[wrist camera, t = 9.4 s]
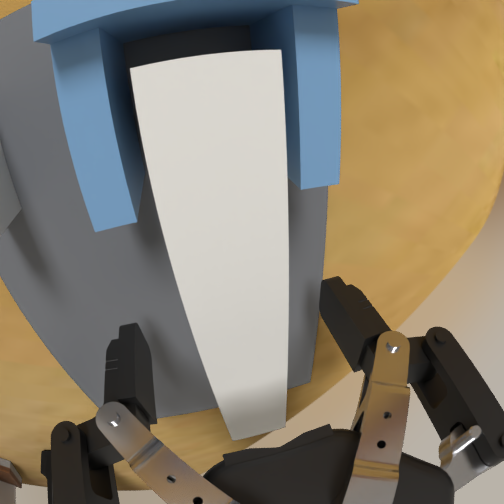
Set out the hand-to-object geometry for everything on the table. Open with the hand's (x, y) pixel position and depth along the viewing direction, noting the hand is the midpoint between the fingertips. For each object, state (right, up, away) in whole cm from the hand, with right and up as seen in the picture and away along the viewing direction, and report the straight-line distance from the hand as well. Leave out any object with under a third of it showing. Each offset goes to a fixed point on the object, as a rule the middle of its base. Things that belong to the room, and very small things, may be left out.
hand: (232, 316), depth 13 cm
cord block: (-1, +2, +1) cm, 2 cm away
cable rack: (-4, +2, +1) cm, 4 cm away
